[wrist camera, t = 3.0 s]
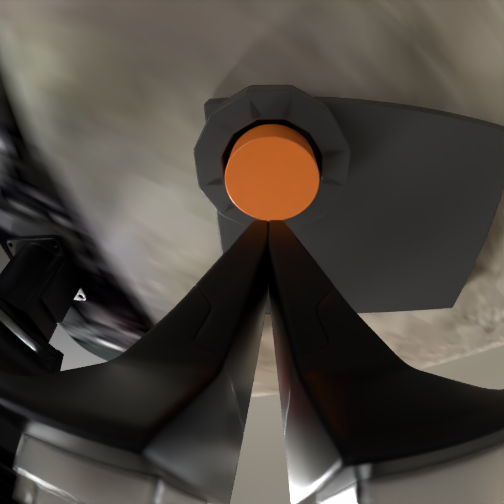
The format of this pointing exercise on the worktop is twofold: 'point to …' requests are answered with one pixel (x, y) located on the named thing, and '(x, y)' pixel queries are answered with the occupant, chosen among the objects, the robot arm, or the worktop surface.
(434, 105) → the worktop surface
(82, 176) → the worktop surface
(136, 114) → the worktop surface
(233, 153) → the button
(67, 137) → the worktop surface
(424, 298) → the scale
